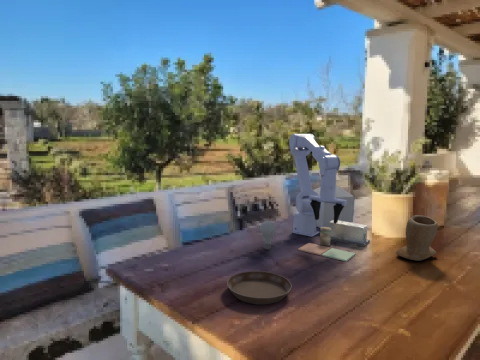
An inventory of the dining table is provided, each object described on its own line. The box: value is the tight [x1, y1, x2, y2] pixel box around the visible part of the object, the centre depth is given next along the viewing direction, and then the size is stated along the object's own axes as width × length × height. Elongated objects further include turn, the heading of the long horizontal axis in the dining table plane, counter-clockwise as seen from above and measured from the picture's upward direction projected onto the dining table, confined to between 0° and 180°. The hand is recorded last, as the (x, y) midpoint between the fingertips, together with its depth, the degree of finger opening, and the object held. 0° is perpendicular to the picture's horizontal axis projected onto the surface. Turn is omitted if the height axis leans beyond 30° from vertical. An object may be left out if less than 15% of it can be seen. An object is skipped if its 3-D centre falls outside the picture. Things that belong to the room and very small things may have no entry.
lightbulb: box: [259, 220, 277, 251], centre depth 133 cm, size 6×6×11 cm
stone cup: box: [395, 214, 439, 262], centre depth 127 cm, size 15×12×15 cm
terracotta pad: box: [297, 242, 332, 256], centre depth 135 cm, size 9×9×1 cm
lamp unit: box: [329, 220, 371, 247], centre depth 146 cm, size 16×7×7 cm, turn 53°
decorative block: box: [312, 184, 356, 229], centre depth 170 cm, size 16×16×20 cm
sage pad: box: [321, 247, 356, 262], centre depth 129 cm, size 9×9×1 cm
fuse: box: [319, 227, 331, 247], centre depth 141 cm, size 4×4×6 cm
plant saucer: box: [226, 270, 293, 305], centre depth 99 cm, size 18×18×3 cm
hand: (326, 221), depth 140 cm, fingers open, 7 cm apart
